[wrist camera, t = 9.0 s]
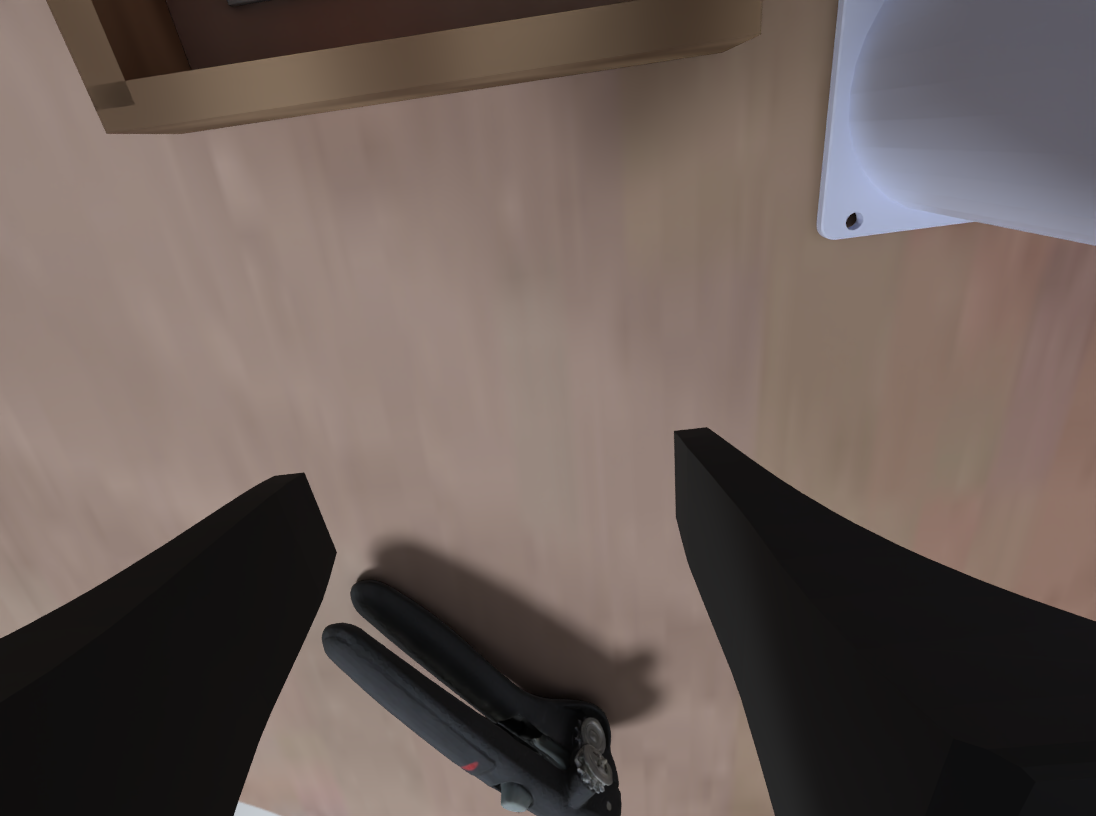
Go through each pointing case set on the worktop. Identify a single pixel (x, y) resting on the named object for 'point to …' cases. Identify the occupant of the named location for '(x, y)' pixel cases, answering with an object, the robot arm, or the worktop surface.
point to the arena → (369, 60)
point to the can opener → (463, 734)
